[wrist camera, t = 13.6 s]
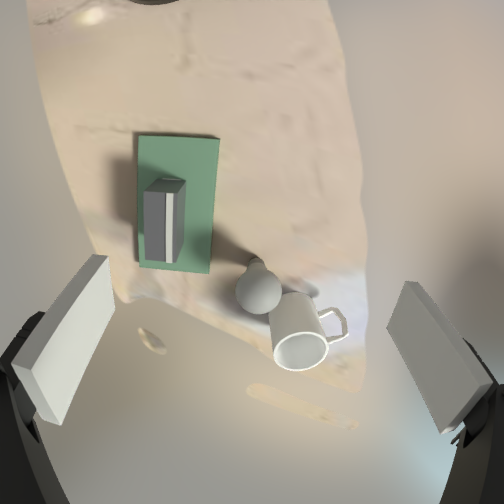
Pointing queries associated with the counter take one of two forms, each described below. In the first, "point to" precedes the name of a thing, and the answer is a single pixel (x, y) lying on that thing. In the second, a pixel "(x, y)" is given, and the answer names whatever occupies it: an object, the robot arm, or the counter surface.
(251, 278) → the lightbulb
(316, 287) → the counter surface
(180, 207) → the block
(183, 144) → the board
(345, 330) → the cup
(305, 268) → the counter surface
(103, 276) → the robot arm
